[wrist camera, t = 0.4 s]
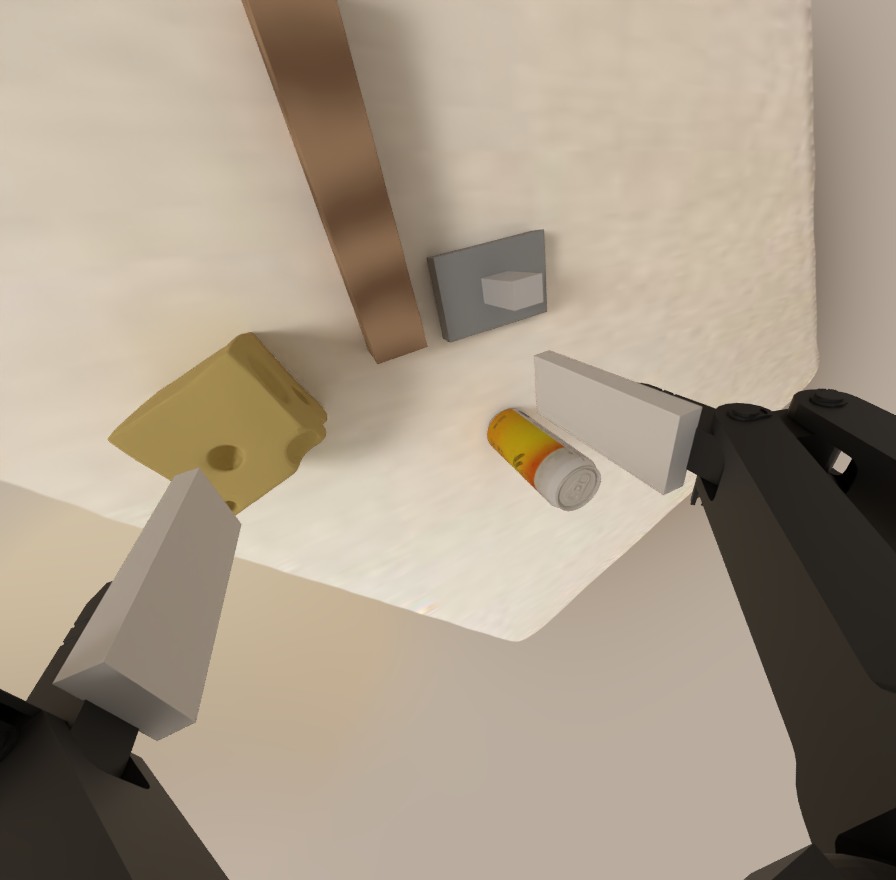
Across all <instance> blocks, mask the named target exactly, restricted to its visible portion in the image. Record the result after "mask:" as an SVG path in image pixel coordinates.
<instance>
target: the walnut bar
mask: <svg viewBox="0 0 896 880" xmlns="http://www.w3.org/2000/svg"><path fill="white" fill-rule="evenodd" d="M242 3H243V6H244V8H245V11H246V14H247V17H248V19H249V22H250V25H251V28H252V30H253V33H254V36H255V39H256V41H257V44H258V47H259V50H260V52H261V55H262V58H263V61H264V63H265V66H266V69H267V72H268V74H269V77H270V80H271V83H272V85H273V88H274V91H275V94H276V96H277V99H278V102H279V105H280V107H281V110H282V113H283V116H284V118H285V121H286V124H287V127H288V130H289V132H290V135H291V138H292V141H293V143H294V146H295V149H296V152H297V154H298V157H299V160H300V163H301V165H302V168H303V171H304V174H305V176H306V179H307V182H308V185H309V187H310V190H311V193H312V196H313V198H314V201H315V204H316V207H317V209H318V212H319V215H320V218H321V220H322V223H323V226H324V229H325V231H326V234H327V237H328V240H329V242H330V245H331V248H332V251H333V253H334V256H335V259H336V262H337V264H338V267H339V270H340V273H341V275H342V278H343V281H344V284H345V286H346V289H347V292H348V295H349V297H350V300H351V303H352V306H353V308H354V311H355V314H356V317H357V319H358V322H359V325H360V328H361V330H362V333H363V336H364V339H365V341H366V344H367V347H368V350H369V352H370V354H371V355H372V357H373V358H374V359H375V361H376V362H377V364H379V363H382V362H385V361H388V360H391V359H394V358H397V357H400V356H402V355H405V354H408V353H411V352H414V351H417V350H420V349H423V348H425V347H428V346H427V342H426V339H425V335H424V331H423V327H422V323H421V320H420V316H419V312H418V308H417V304H416V301H415V297H414V293H413V289H412V285H411V282H410V278H409V274H408V270H407V266H406V263H405V259H404V255H403V251H402V247H401V244H400V240H399V236H398V232H397V228H396V225H395V221H394V217H393V213H392V209H391V206H390V202H389V198H388V194H387V190H386V187H385V183H384V179H383V175H382V171H381V168H380V164H379V160H378V156H377V152H376V149H375V145H374V141H373V137H372V133H371V130H370V126H369V122H368V118H367V114H366V111H365V107H364V103H363V99H362V95H361V92H360V88H359V84H358V80H357V76H356V73H355V69H354V65H353V61H352V57H351V54H350V50H349V46H348V42H347V38H346V35H345V31H344V27H343V23H342V19H341V16H340V12H339V8H338V4H337V0H242Z"/></svg>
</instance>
